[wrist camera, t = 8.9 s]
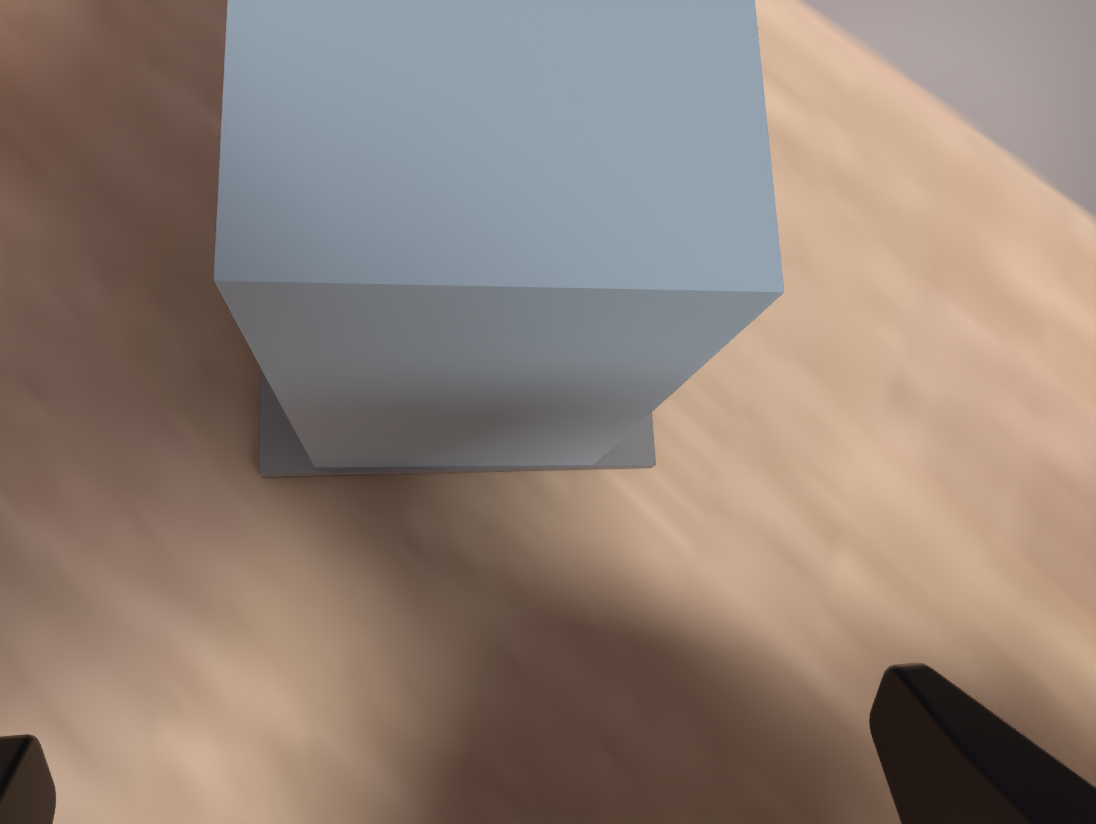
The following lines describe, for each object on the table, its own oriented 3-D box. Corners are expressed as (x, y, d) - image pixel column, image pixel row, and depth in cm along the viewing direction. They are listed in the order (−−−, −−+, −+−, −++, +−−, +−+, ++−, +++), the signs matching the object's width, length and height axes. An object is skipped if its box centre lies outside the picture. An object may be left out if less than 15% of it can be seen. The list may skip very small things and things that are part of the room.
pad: (650, 468, 20) (655, 464, 19) (261, 477, 18) (258, 473, 18) (625, 128, 21) (629, 120, 21) (269, 116, 20) (266, 106, 20)
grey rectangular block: (593, 464, 19) (784, 292, 9) (314, 467, 18) (214, 280, 9) (576, 117, 21) (722, -325, 11) (322, 104, 20) (246, -385, 10)
